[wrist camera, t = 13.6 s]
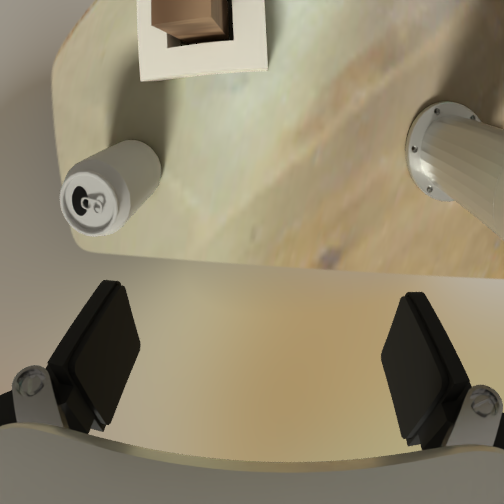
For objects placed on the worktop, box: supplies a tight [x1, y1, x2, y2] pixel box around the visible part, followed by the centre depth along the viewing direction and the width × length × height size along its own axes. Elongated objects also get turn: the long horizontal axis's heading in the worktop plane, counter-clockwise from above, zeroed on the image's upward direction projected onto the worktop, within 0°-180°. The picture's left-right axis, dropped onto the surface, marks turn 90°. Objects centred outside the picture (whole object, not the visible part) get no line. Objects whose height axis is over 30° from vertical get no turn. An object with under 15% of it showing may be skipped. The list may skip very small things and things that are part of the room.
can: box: [60, 140, 161, 236], centre depth 30 cm, size 8×8×12 cm
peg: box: [151, 0, 229, 44], centre depth 22 cm, size 4×4×12 cm
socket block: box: [137, 0, 268, 81], centre depth 25 cm, size 12×12×5 cm
